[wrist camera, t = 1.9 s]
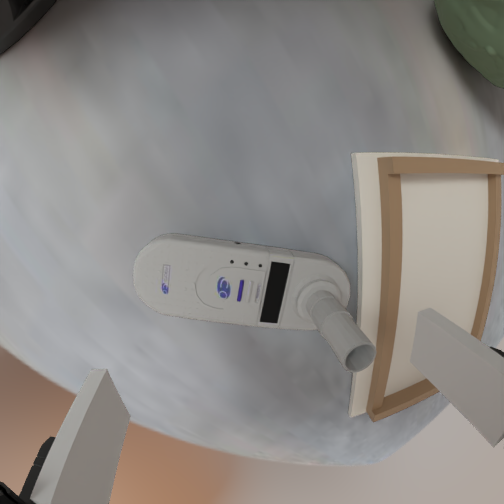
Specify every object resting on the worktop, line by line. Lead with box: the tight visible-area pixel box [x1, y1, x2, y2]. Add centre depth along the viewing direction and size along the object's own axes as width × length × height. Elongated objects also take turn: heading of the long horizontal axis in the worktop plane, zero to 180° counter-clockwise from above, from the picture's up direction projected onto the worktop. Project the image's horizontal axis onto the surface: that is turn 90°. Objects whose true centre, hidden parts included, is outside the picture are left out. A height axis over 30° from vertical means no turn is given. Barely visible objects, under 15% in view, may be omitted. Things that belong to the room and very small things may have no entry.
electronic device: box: [133, 233, 377, 373], centre depth 16 cm, size 5×10×15 cm
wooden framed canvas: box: [348, 152, 504, 422], centre depth 22 cm, size 26×20×3 cm
